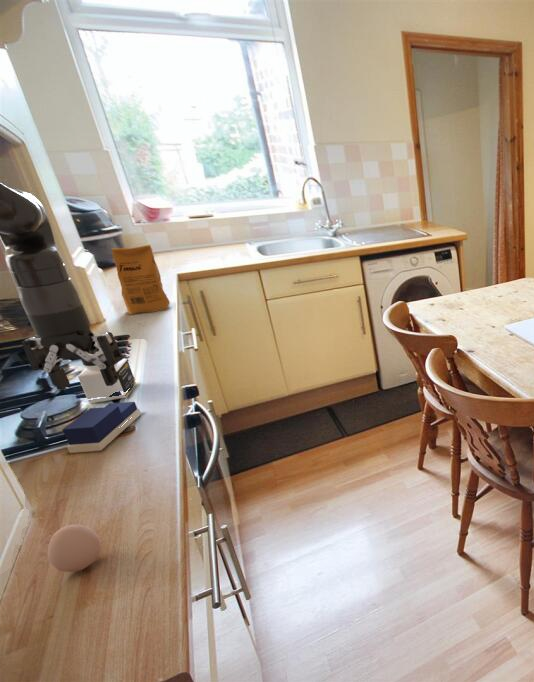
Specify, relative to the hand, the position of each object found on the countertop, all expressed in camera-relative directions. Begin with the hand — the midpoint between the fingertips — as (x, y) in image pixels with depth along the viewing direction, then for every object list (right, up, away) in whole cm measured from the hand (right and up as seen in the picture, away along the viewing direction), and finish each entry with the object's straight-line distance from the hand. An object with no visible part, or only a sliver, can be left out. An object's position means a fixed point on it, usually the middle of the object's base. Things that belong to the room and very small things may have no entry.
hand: (88, 385), depth 90 cm
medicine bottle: (-11, -4, +19) cm, 22 cm away
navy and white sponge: (0, -10, +5) cm, 11 cm away
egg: (+22, -23, -25) cm, 41 cm away
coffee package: (-46, +20, +74) cm, 90 cm away
